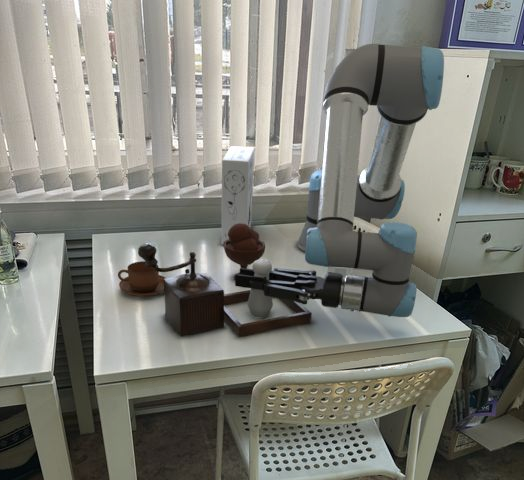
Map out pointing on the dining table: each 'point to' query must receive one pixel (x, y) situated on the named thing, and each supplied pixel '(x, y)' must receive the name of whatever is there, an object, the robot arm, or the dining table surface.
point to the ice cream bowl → (243, 245)
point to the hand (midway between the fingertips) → (238, 276)
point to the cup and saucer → (141, 280)
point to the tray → (268, 324)
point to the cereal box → (237, 188)
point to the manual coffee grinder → (188, 296)
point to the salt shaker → (260, 291)
